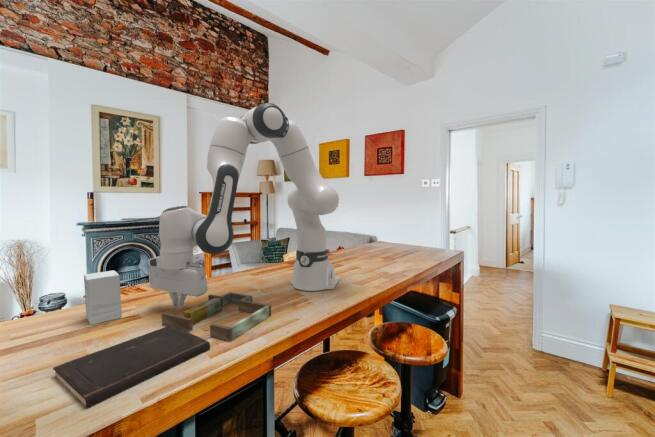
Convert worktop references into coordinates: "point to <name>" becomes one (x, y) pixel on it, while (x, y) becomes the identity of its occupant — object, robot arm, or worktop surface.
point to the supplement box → (102, 296)
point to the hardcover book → (128, 363)
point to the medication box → (204, 310)
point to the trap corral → (226, 332)
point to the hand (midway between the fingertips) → (178, 306)
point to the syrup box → (199, 258)
